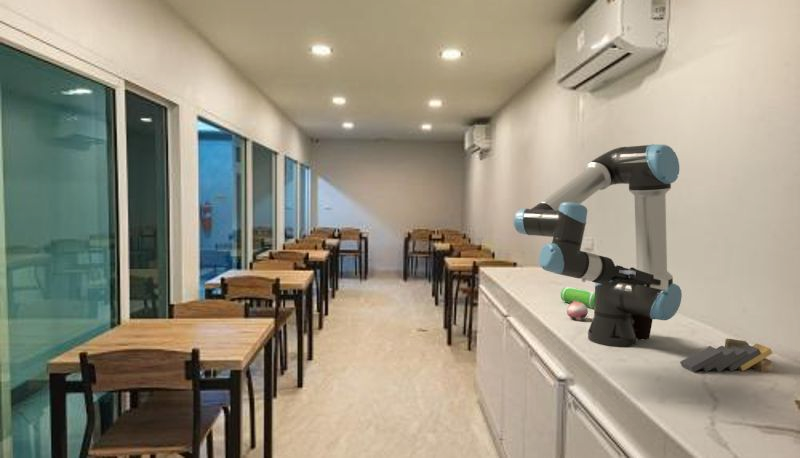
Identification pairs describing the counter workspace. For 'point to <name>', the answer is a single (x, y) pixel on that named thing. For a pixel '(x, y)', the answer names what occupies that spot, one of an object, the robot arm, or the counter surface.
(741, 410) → the counter surface
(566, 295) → the speaker
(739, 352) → the domino
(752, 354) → the domino
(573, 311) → the onion
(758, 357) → the domino
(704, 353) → the domino
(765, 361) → the block
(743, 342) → the stone block
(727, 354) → the domino
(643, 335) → the coffee mug
